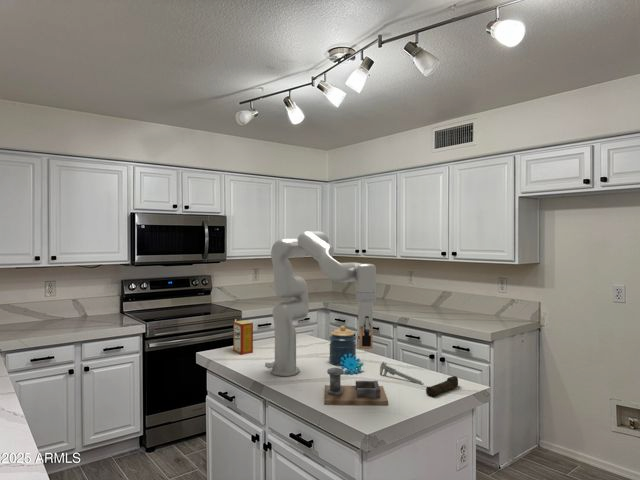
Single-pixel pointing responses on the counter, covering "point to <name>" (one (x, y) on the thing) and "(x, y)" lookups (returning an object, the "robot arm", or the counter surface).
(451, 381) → the hand tool
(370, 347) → the tan oval solid
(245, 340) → the baking soda box
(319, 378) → the counter surface
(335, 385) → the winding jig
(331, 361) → the canister
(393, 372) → the caliper
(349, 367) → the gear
